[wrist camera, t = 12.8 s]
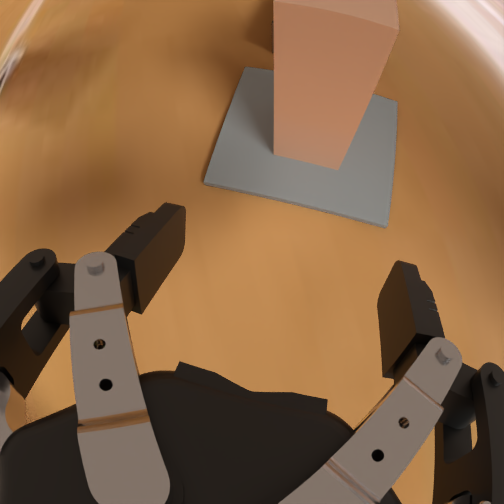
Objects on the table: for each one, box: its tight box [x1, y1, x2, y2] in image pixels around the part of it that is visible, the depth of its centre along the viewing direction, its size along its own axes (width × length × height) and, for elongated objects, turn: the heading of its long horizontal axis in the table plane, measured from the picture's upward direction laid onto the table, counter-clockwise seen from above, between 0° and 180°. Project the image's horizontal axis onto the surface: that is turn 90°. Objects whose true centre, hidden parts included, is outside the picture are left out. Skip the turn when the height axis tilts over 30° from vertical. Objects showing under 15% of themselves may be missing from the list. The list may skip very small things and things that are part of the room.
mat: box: [204, 67, 397, 228], centre depth 23 cm, size 14×12×1 cm
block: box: [273, 0, 400, 170], centre depth 16 cm, size 5×5×14 cm
